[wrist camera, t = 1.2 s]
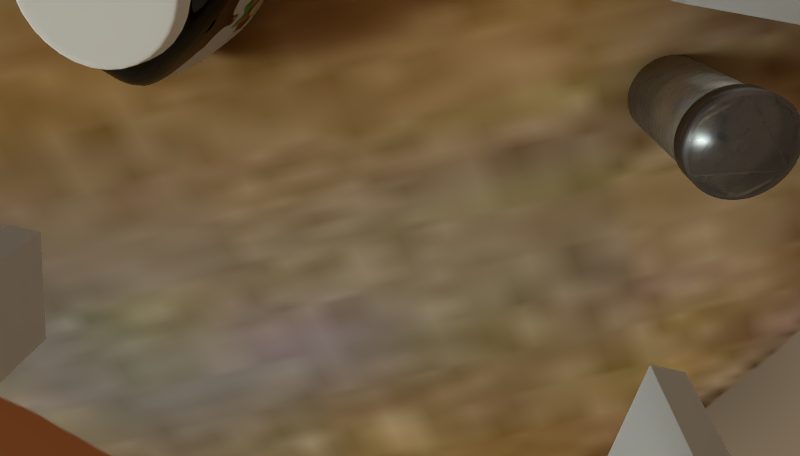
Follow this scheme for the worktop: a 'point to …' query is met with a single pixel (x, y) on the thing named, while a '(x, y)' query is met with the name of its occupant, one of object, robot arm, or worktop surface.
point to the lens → (716, 126)
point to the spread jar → (138, 32)
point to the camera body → (755, 8)
